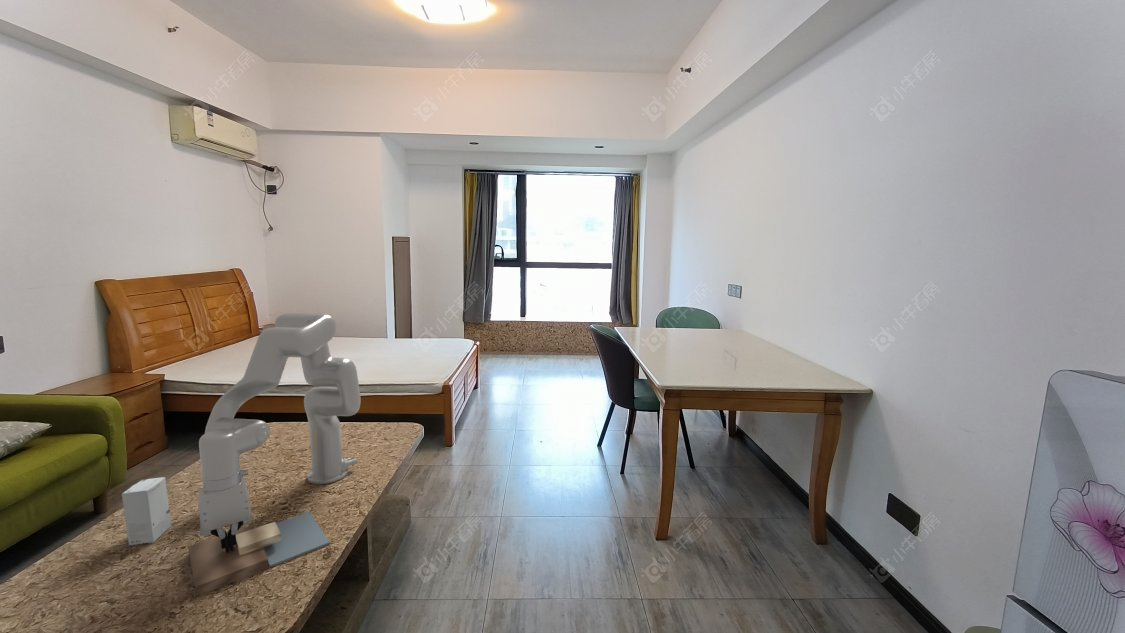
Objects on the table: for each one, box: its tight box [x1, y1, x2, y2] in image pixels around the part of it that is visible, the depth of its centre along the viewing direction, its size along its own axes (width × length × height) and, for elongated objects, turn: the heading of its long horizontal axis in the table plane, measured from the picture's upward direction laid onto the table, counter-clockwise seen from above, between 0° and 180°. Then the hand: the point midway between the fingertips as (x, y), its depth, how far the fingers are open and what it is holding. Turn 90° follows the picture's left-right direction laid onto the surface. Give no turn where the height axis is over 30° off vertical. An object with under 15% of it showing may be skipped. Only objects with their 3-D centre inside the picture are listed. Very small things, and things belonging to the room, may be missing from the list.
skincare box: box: [121, 476, 172, 546], centre depth 124 cm, size 8×6×15 cm
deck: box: [187, 524, 270, 597], centre depth 115 cm, size 14×19×2 cm
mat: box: [263, 511, 331, 568], centre depth 124 cm, size 14×19×1 cm
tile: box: [236, 521, 281, 555], centre depth 119 cm, size 9×7×2 cm
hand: (229, 548), depth 115 cm, fingers closed
